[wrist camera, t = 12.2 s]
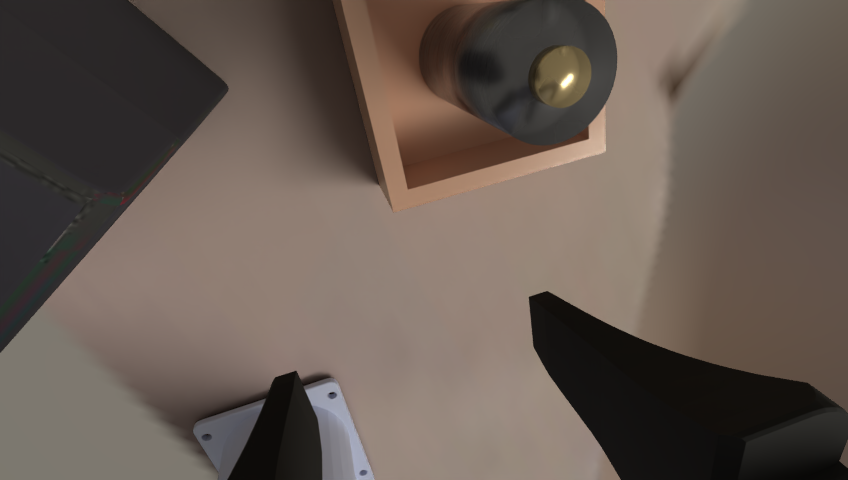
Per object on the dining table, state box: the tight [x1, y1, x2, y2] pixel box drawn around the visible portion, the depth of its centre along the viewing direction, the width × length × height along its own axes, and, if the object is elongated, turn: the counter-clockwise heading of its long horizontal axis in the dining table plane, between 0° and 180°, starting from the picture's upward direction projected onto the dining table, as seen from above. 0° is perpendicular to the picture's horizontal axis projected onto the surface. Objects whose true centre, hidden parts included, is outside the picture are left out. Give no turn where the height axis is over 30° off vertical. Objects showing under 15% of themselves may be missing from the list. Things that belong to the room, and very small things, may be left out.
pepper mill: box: [419, 0, 617, 146], centre depth 16 cm, size 4×4×9 cm
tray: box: [332, 0, 606, 213], centre depth 19 cm, size 10×10×4 cm
